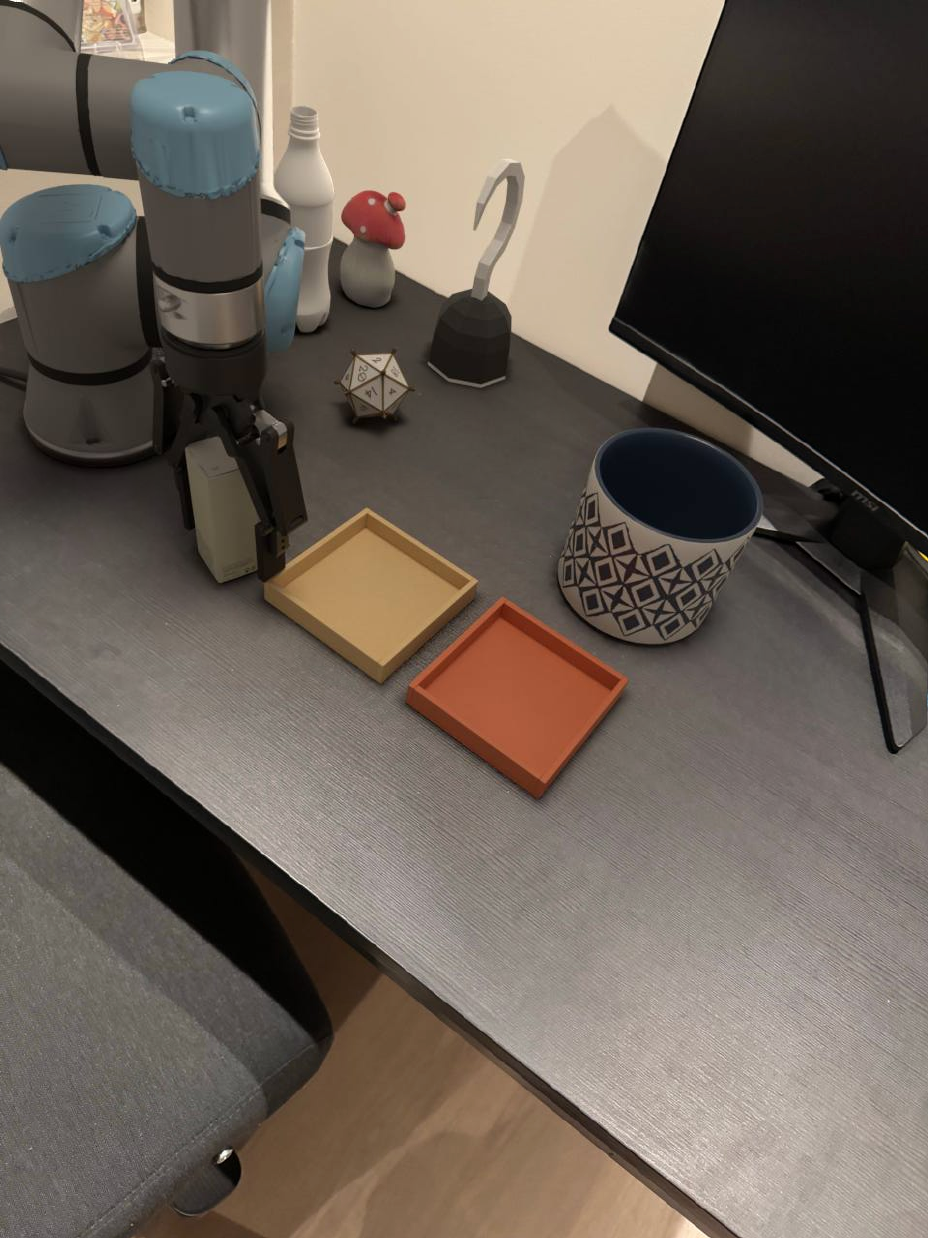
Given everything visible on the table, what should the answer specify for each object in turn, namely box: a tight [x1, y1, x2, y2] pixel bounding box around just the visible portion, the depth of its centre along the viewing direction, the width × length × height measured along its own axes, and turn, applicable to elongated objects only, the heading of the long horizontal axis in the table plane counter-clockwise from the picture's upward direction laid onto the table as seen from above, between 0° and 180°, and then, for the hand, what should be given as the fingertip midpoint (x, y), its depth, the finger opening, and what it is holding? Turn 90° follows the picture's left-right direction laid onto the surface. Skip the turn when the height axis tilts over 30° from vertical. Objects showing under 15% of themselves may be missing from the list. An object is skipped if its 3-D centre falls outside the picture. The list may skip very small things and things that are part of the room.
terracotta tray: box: [405, 596, 630, 800], centre depth 75 cm, size 14×14×3 cm
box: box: [185, 435, 258, 584], centre depth 76 cm, size 5×4×13 cm
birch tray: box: [263, 507, 479, 684], centre depth 80 cm, size 14×14×3 cm
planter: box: [557, 427, 764, 645], centre depth 82 cm, size 16×16×14 cm
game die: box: [332, 345, 418, 425], centre depth 96 cm, size 9×8×10 cm
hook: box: [427, 158, 526, 389], centre depth 100 cm, size 11×11×25 cm
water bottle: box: [274, 105, 336, 333], centre depth 100 cm, size 7×7×25 cm
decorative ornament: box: [339, 189, 407, 308], centre depth 111 cm, size 9×6×15 cm
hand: (234, 547), depth 78 cm, fingers open, 9 cm apart
